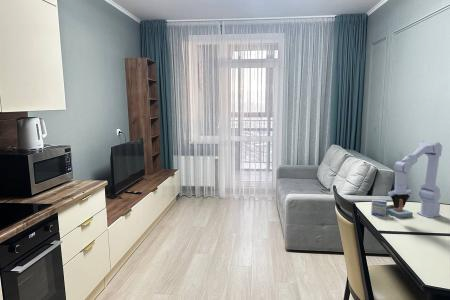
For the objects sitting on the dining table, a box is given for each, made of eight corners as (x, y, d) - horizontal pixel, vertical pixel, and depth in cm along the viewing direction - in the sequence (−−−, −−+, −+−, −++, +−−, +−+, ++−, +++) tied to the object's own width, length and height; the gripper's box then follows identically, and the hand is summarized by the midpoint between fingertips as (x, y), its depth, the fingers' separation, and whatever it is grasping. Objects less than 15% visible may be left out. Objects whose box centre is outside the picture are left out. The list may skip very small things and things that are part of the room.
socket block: (399, 211, 196) (399, 207, 196) (412, 216, 187) (412, 212, 186) (385, 212, 194) (385, 208, 193) (398, 218, 184) (398, 214, 184)
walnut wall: (397, 209, 200) (397, 202, 200) (401, 210, 197) (402, 204, 196) (378, 211, 197) (378, 204, 196) (382, 213, 193) (383, 206, 193)
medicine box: (371, 214, 191) (372, 200, 189) (370, 212, 195) (371, 198, 194) (386, 216, 188) (386, 202, 187) (385, 214, 192) (386, 200, 191)
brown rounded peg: (398, 209, 179) (399, 198, 178) (403, 211, 176) (404, 200, 175) (393, 209, 178) (394, 199, 178) (398, 211, 175) (399, 201, 174)
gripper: (395, 186, 169) (393, 210, 171) (417, 184, 173) (415, 208, 175) (385, 183, 176) (384, 206, 178) (407, 181, 180) (405, 204, 182)
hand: (399, 207), depth 177 cm, fingers closed on brown rounded peg, 3 cm apart
